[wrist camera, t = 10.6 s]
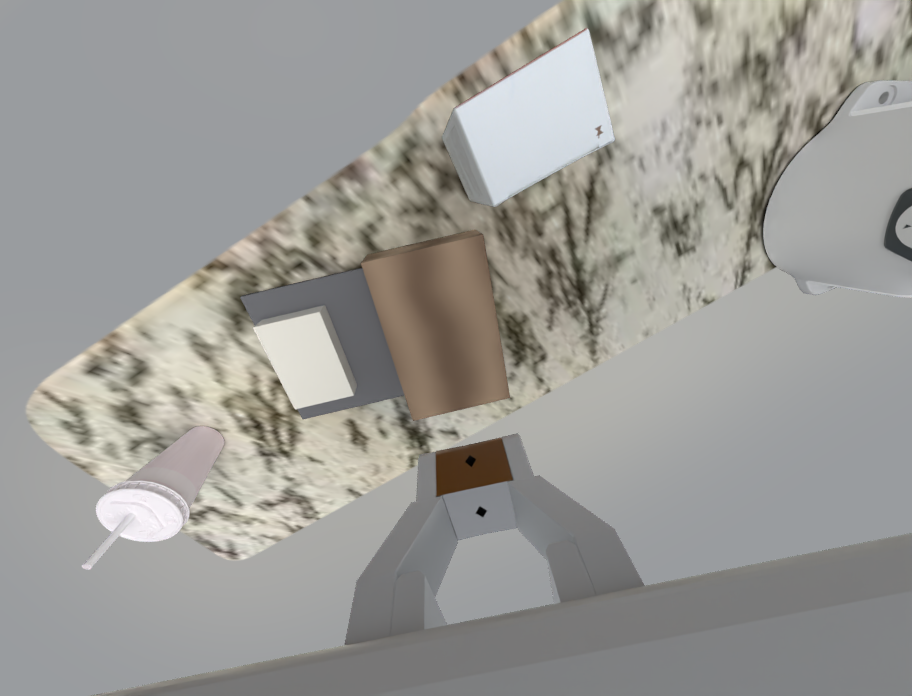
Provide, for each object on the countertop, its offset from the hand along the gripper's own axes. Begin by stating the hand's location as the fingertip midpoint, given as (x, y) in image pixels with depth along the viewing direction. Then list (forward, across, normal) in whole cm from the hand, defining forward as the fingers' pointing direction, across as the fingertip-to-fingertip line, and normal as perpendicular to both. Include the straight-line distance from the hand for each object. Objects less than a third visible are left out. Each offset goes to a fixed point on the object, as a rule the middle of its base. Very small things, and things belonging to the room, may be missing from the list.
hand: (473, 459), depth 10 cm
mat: (+24, +12, +5) cm, 27 cm away
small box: (+25, -7, -9) cm, 27 cm away
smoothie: (+23, +30, +12) cm, 39 cm away
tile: (+21, +14, +5) cm, 26 cm away
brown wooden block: (+24, +2, +5) cm, 24 cm away
